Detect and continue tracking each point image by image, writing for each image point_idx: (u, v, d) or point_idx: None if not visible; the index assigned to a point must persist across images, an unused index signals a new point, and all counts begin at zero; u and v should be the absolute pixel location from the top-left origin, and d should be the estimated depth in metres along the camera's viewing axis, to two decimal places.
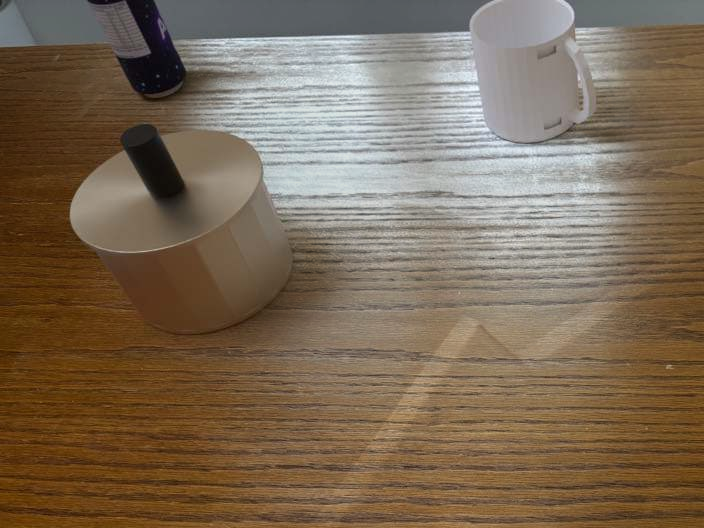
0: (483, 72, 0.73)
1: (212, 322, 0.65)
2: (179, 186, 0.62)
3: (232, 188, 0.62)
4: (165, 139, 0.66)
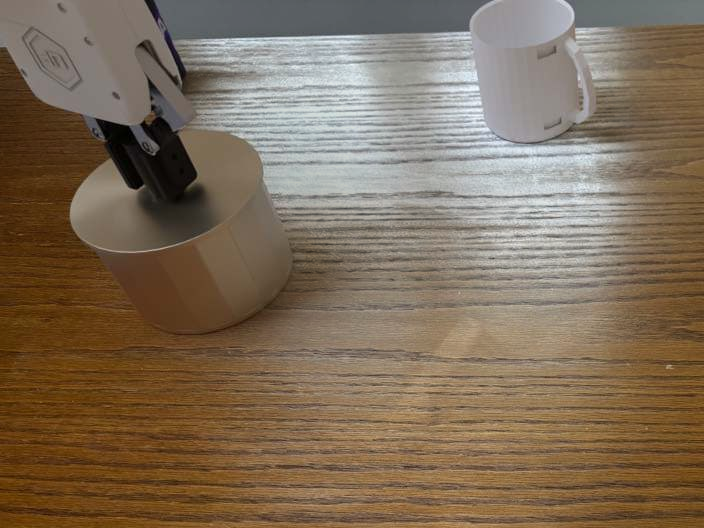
0: (483, 72, 0.73)
1: (212, 322, 0.65)
2: None
3: (232, 188, 0.62)
4: None
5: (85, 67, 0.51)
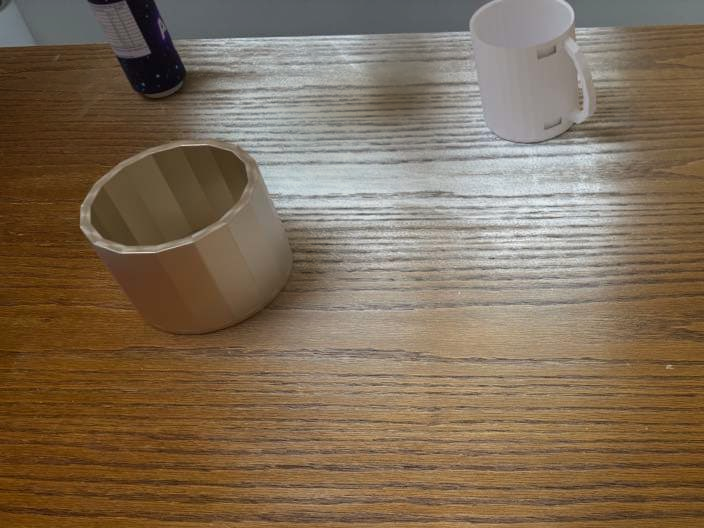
0: (483, 72, 0.73)
1: (212, 322, 0.65)
2: None
3: None
4: None
5: None
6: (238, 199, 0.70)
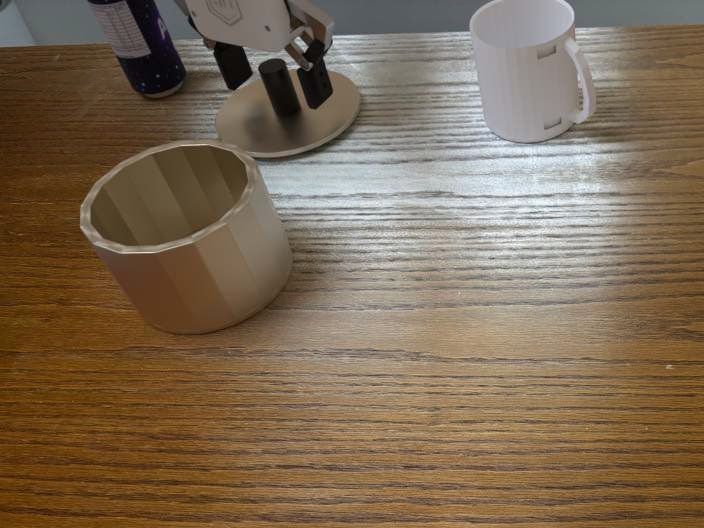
0: (483, 72, 0.73)
1: (212, 322, 0.65)
2: (298, 107, 0.81)
3: (338, 109, 0.81)
4: None
5: (247, 6, 0.70)
6: (238, 199, 0.70)
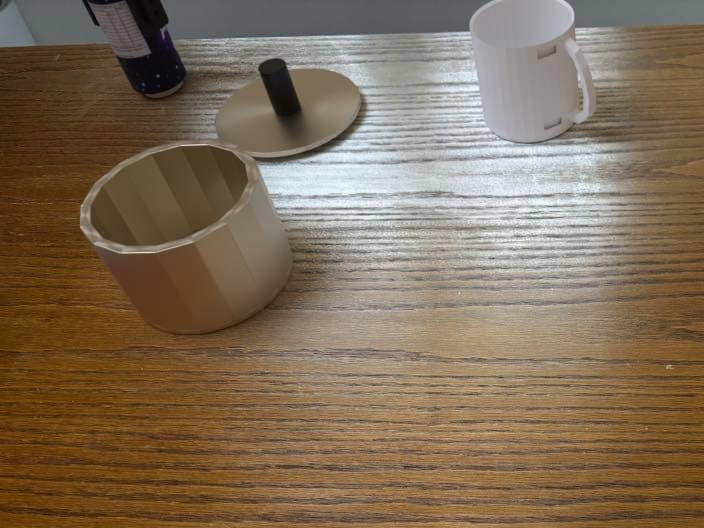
0: (483, 72, 0.73)
1: (212, 322, 0.65)
2: (298, 107, 0.81)
3: (338, 109, 0.81)
4: None
5: None
6: (238, 199, 0.70)
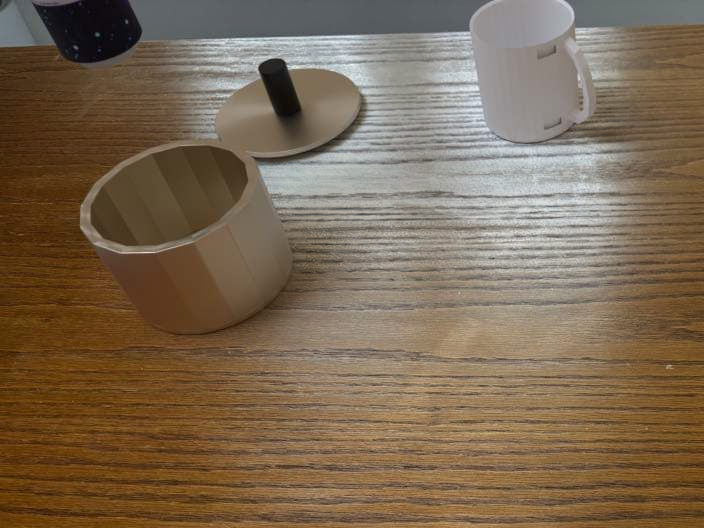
0: (483, 72, 0.73)
1: (212, 322, 0.65)
2: (298, 107, 0.81)
3: (338, 109, 0.81)
4: None
5: None
6: (238, 199, 0.70)
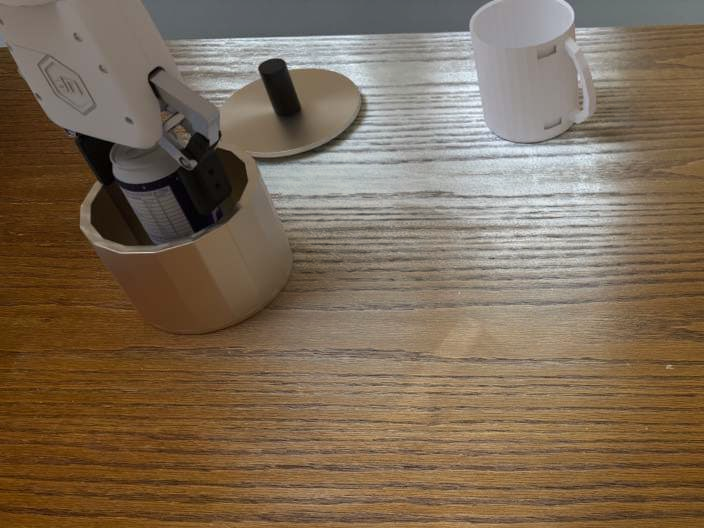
0: (483, 72, 0.73)
1: (212, 322, 0.65)
2: (298, 107, 0.81)
3: (338, 109, 0.81)
4: None
5: (99, 93, 0.52)
6: (238, 199, 0.70)
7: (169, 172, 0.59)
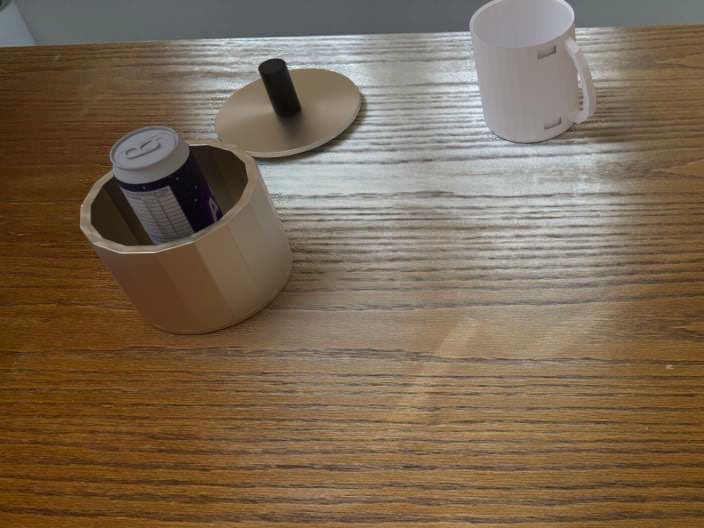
0: (483, 72, 0.73)
1: (212, 322, 0.65)
2: (298, 107, 0.81)
3: (338, 109, 0.81)
4: None
5: None
6: (238, 199, 0.70)
7: (169, 172, 0.59)
